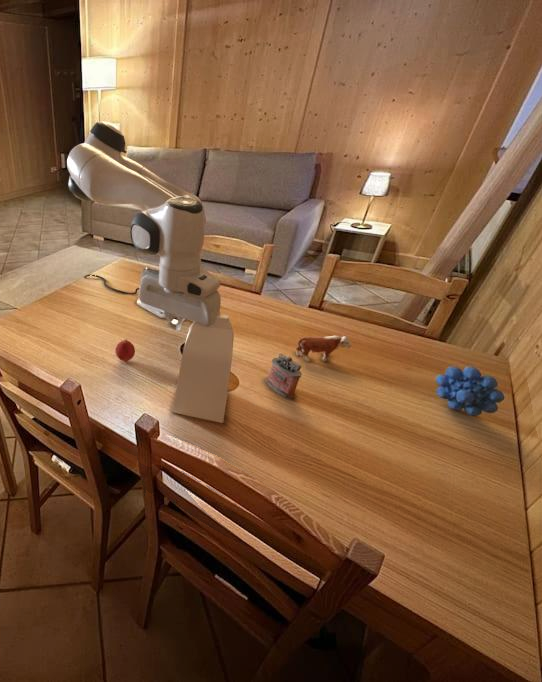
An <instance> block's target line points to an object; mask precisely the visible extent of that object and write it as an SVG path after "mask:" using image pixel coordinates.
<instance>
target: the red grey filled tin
mask: <svg viewBox="0 0 542 682" xmlns="http://www.w3.org/2000/svg"><path fill="white" fill-rule="evenodd" d="M301 368H302V365H301V364H299V363H298V362H297V361H295V360H293V358H292V357H291V356H286V355H285V354H283V353H279V354H278V356H277V357H274V358H272V359H271V365H270V369H269V371H268V376H267V377H266V380H265V383H266V384H267V386H268V387H270V388H271V389H272V390H273V391H274V392H275V393H277V394H279V395H281V396H282V397H283V398H286V399H293V398H294V397H295V395H296V394H295V393H296V389H297V386H298V384H299V381H300V378H301V377H302V375H303V373H302V372H301Z"/></svg>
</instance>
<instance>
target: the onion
mask: <svg viewBox="0 0 542 682" xmlns="http://www.w3.org/2000/svg"><path fill="white" fill-rule="evenodd" d="M135 354H136V348H135V346H134V343H132V342H131V341H130V340H128V339H127V338H125V339H124V340H121V341H119V342H118V343H117V344H116V347H115V356H116V357H117V358H118V359H119V360H120V361H122V362H128V361H131V359H133V358H134V356H135Z"/></svg>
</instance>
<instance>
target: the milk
mask: <svg viewBox="0 0 542 682" xmlns="http://www.w3.org/2000/svg"><path fill="white" fill-rule="evenodd" d="M234 339H235V332H234V330H233V327H232V323H231V321H230V317H229V315H227V314H220V315H218V316H216V318H215V323H214V324H213V325H211V326H209V327H206V326H204V325H201V324H198V323H196V321H195V322H193V321H192V323H191V324H190V325H189V328H188V332H187V335H186V339H185V341H184V342H185V343H184V347H183V349H182V350H183V351H182V354H181V359H180V365H179V371H178V380H177V385H176V391H175V396H174V403H173V408H172V413H175V414H178V415H183V416H188V417H193V418H197V419H202V420H206V421H211V422H216V423H221V424H223V423H224V419H225V413H226V412H225V411H226V405H227V398H228V390H229V384H230V376H231V372H232V371H231V370H232V364H233V352H234V351H233V350H234V341H235V340H234Z"/></svg>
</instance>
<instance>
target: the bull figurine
mask: <svg viewBox="0 0 542 682" xmlns="http://www.w3.org/2000/svg"><path fill="white" fill-rule="evenodd" d="M352 345H353V344H351V341H350V339H349V338H348V337H347V335H345V334H342V336H340V335H330V336H329V335H326V336H303V337H300V338H299V340H298V341H297V347H296V348H295V349H296V352H295V355H297V357H301V358H302V357H304V360H305V361H307V362H312V360H311V358H310V357H309V353H310V352H311V353H323V352H324V353H323V356H322V358H321V360H322V361H323V362H327V358H328V357H329V355H330V354H332V353H333V352H334V351H335V350H338V349H339V348H347V349H351V348H352V347H353V346H352Z"/></svg>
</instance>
